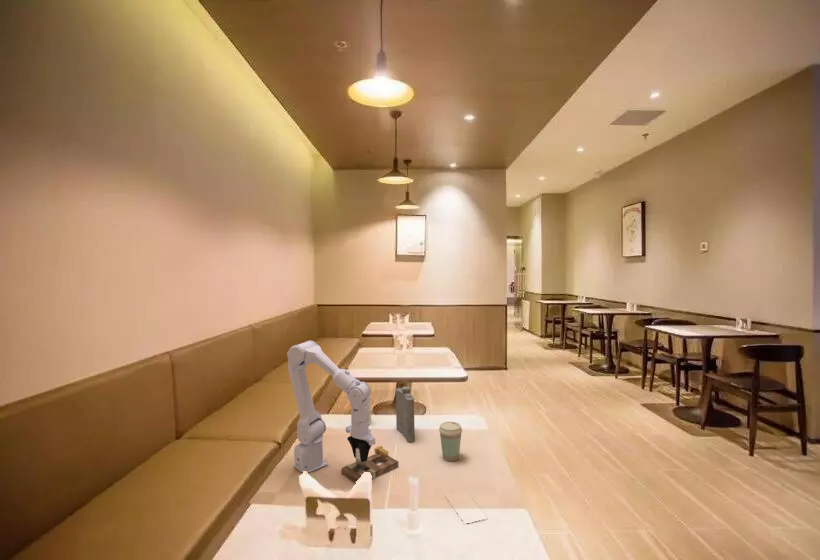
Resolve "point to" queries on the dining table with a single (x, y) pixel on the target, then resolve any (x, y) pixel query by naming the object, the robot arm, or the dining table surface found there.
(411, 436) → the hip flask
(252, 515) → the dining table surface
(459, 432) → the coffee cup
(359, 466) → the frosted round dowel plug
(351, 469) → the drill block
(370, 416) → the syrup box
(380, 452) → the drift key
